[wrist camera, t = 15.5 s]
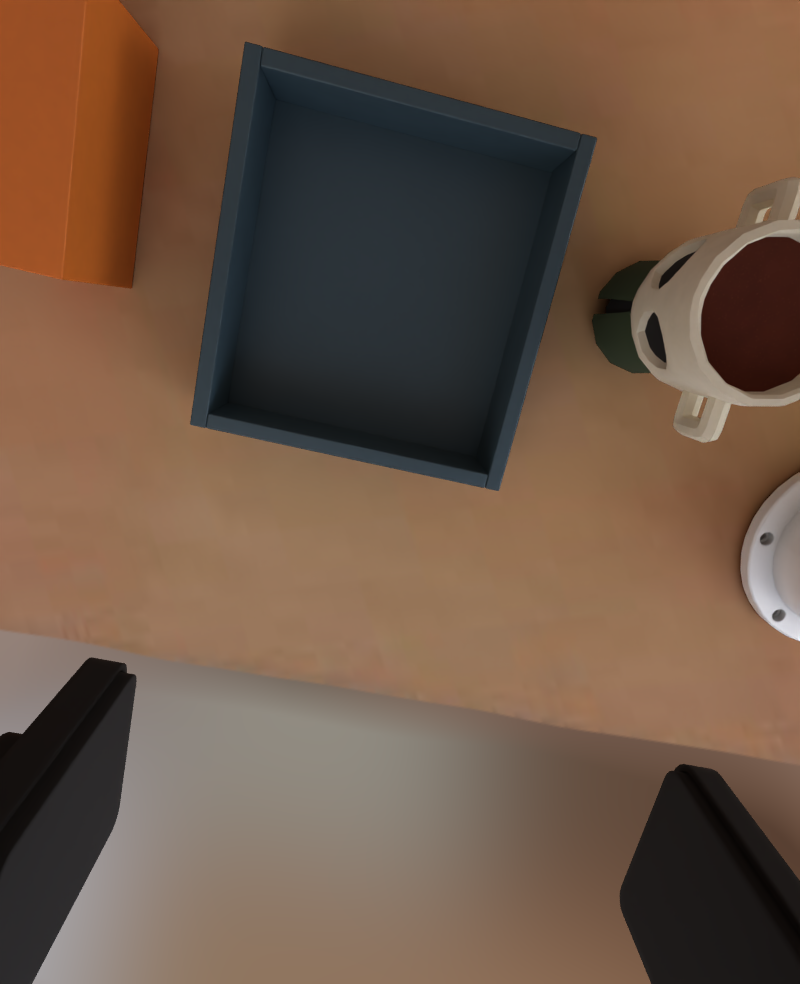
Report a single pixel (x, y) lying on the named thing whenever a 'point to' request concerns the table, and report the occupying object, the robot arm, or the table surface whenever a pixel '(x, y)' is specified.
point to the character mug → (716, 315)
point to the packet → (73, 137)
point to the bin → (382, 269)
